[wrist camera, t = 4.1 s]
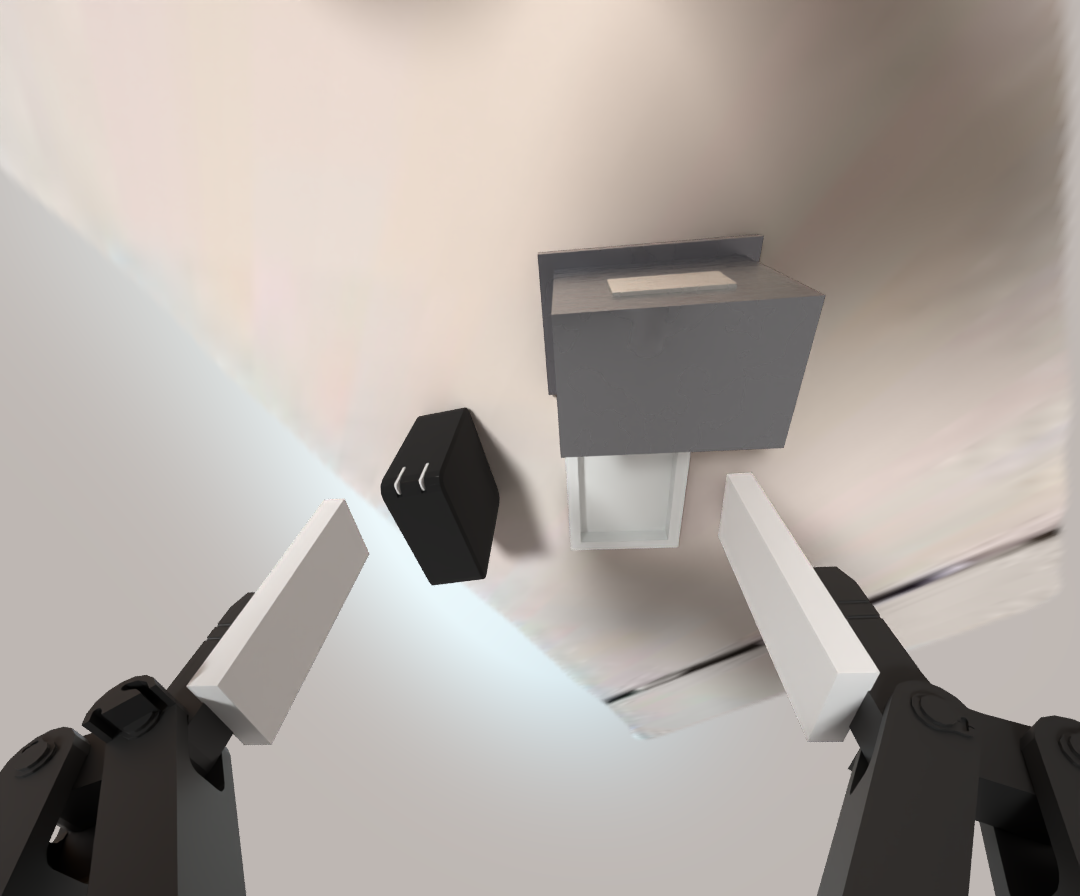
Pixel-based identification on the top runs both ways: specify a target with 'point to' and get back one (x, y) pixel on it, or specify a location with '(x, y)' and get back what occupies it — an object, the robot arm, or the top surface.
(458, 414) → the electronic device
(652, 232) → the top surface
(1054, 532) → the top surface
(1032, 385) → the top surface
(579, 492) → the tray
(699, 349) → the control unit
